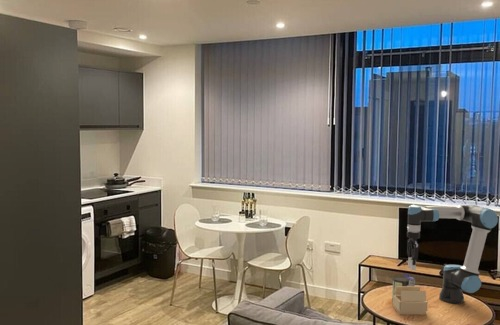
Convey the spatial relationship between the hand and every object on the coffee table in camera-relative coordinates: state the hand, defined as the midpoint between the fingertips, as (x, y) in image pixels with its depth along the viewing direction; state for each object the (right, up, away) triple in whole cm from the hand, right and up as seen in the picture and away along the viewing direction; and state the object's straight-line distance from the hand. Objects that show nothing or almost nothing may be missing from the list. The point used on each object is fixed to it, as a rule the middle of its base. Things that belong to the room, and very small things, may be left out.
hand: (411, 268), depth 305 cm
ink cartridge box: (+6, -25, +30) cm, 40 cm away
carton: (-1, -27, +2) cm, 27 cm away
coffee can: (-1, -25, +22) cm, 33 cm away
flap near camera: (0, -16, -3) cm, 16 cm away
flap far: (-1, -15, +6) cm, 16 cm away
